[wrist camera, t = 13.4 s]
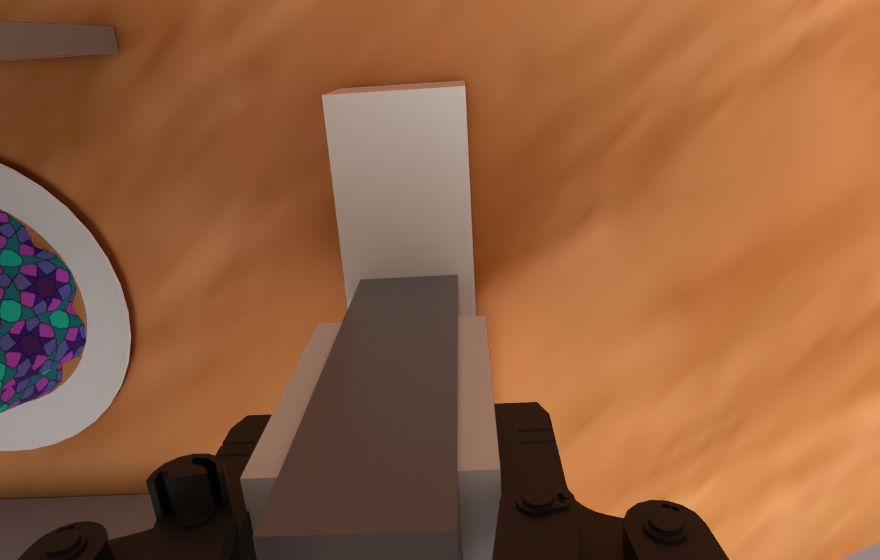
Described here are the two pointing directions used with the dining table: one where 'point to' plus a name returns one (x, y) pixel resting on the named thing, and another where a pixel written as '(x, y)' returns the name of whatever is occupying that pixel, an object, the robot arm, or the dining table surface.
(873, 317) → the dining table surface
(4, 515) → the bin
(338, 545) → the scraper
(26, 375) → the pudding
